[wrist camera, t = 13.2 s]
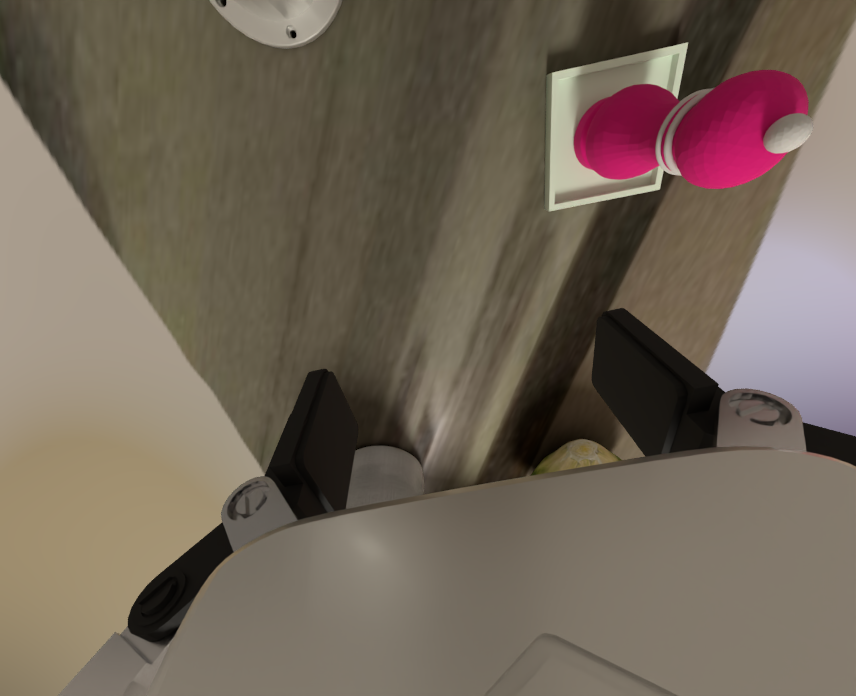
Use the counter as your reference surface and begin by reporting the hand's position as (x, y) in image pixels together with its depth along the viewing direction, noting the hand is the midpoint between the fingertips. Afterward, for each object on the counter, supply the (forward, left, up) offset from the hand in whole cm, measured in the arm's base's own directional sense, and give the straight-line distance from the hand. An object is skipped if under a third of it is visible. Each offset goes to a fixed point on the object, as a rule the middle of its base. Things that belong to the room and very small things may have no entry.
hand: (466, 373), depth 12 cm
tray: (-4, +19, -30) cm, 36 cm away
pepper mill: (-4, +19, -30) cm, 35 cm away
